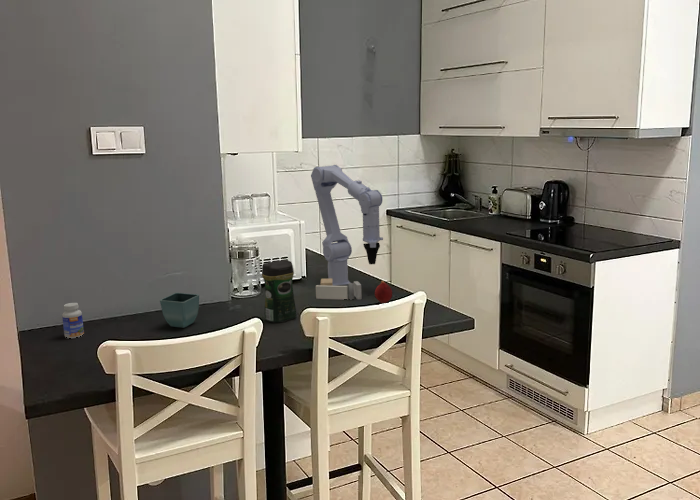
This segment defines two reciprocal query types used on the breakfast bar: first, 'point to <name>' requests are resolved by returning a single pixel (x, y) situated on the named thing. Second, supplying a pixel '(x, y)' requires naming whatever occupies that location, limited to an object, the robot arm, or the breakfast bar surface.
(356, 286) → the grey boxy piece
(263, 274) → the coffee jar
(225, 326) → the breakfast bar surface
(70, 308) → the pill bottle
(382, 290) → the onion
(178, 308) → the flower pot
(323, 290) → the grey rectangular bar
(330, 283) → the rubber block
